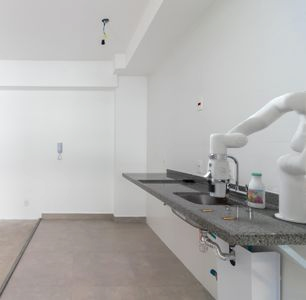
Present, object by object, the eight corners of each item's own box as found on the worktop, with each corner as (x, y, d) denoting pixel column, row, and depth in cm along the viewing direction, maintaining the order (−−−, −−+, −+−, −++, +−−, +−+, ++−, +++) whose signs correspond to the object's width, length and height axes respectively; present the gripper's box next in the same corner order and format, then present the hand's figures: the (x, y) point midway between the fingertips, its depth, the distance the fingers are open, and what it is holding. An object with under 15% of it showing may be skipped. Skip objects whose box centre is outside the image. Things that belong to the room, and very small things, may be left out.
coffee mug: (223, 201, 135) (223, 186, 135) (233, 204, 126) (233, 188, 126) (205, 201, 134) (205, 186, 134) (214, 205, 126) (214, 188, 126)
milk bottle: (252, 204, 127) (252, 172, 127) (267, 208, 120) (268, 173, 120) (245, 206, 123) (245, 172, 123) (260, 209, 116) (261, 174, 116)
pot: (217, 194, 111) (217, 181, 111) (228, 197, 104) (229, 183, 104) (206, 194, 109) (206, 181, 109) (217, 197, 103) (218, 183, 103)
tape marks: (211, 210, 114) (211, 209, 114) (235, 218, 101) (235, 218, 101) (201, 210, 113) (201, 210, 113) (225, 219, 99) (225, 218, 99)
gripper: (210, 157, 101) (209, 194, 101) (238, 157, 105) (238, 192, 105) (198, 157, 109) (197, 191, 109) (225, 157, 113) (224, 190, 112)
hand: (217, 191), depth 107 cm, fingers closed on pot, 6 cm apart
